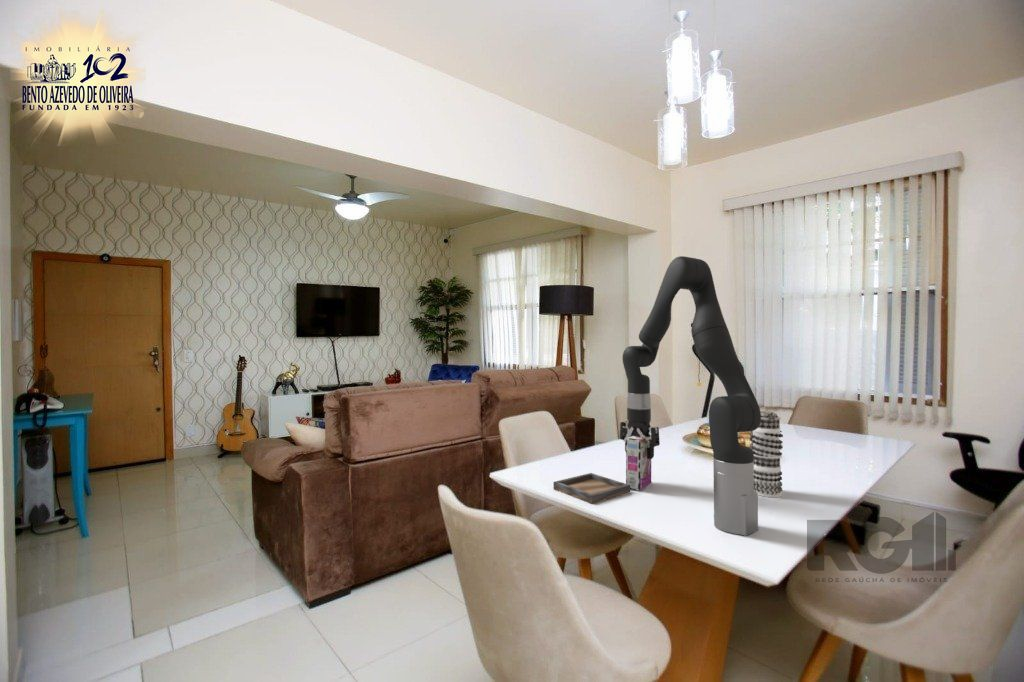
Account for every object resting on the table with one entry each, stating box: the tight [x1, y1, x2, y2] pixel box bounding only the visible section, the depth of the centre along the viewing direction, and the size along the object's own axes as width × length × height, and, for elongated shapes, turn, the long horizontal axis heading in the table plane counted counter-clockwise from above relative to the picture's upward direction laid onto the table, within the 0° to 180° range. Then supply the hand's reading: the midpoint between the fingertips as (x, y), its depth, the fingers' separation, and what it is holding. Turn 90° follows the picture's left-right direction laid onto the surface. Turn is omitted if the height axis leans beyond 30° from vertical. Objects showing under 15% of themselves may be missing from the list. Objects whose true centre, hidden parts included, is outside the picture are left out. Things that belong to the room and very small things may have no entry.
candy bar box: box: [625, 436, 652, 492], centre depth 150 cm, size 11×5×16 cm, turn 144°
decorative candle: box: [748, 410, 784, 498], centre depth 142 cm, size 9×9×25 cm
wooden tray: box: [553, 472, 631, 505], centre depth 145 cm, size 17×17×2 cm
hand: (639, 456), depth 150 cm, fingers open, 8 cm apart
